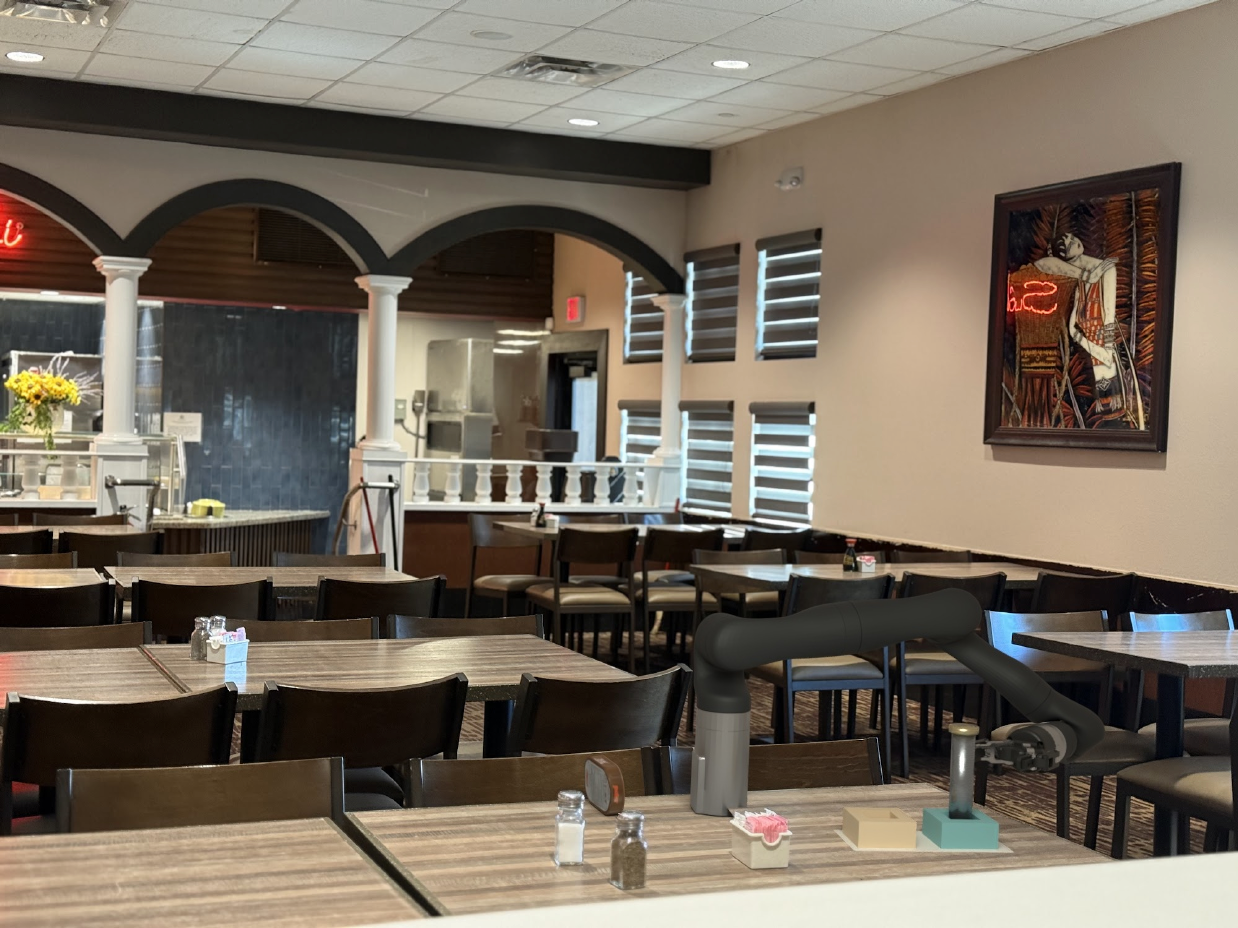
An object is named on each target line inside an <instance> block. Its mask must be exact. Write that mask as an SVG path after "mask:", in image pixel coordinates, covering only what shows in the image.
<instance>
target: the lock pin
mask: <svg viewBox="0 0 1238 928" xmlns="http://www.w3.org/2000/svg"><path fill="white" fill-rule="evenodd" d="M948 732H949V733H950V734H951V749H950V766H949V767H950V768H949V769H950V771H949V795H948V796H949V797H948V809H949V813H948V818H950V819H963V820H972V809H974V807H973V805H974V782H975V780H974V779H975V762H974V761H975V741H976V737H977V736H978V735H979V734H980V726H978V725H976V724H971V723H966V722H965V723H963V722H962V723H961V722H952V723H950V724H948Z"/></svg>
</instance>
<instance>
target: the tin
mask: <svg viewBox="0 0 1238 928" xmlns="http://www.w3.org/2000/svg"><path fill="white" fill-rule="evenodd" d="M583 765H584V767H583V769H584V790H585V795H586V798H587V800H588V802H589V803H590V804H591V805H592V806H593V807H595V808H596V809H597V810H598V811H600V813H602V814H603V815H605V816H611V815H612V816H613V815H618V813H621V814H622V813H623V812H624V809H625V805H626V804H625V802H626V794H625V793H626V791H625V782H624V778H623V773H622V771H621V768H620V767H619V765H618V764H616V762H614V761H612V760H611V759H610V758H608V757H607V756H606V755H604V754H599V755H590V756H588V757H587V758H586V759H585V761H584V764H583Z"/></svg>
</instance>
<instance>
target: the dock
mask: <svg viewBox="0 0 1238 928" xmlns="http://www.w3.org/2000/svg"><path fill="white" fill-rule="evenodd" d="M922 809H923V810H922V830H917V829H918V828H917V825H918V824H917V823H918V822H917V821H916V820H914V819H913V818H912V817H911V816H909V815H908V814H907V813H906V812H904V811H903V810H902V809H901V808H899V807H867V806H864V807H862V806H857V807H856V806H855V807H854V806H847V807H846V806H844V807H843V808H842V827H841V829H833V831H834V832H835V833H836V834H837V836H839V837H840V838H841V840H843V841H844V842H845V843H846V844H847V846H849V847H850V848H851V849H852V850H853V852H915V853H916V852H919V853H921V852H922V853H924V852H926V853H928V852H930V853H933V852H934V853H935V852H936V853H937V852H938V853H939V852H940V853H944V852H945V853H1007V854H1008V853H1015V852H1014V851H1013V850H1011V849H1010V848H1009V847H1008V846H1006V845H1005V844H1003V843H1002V842H1001V841H999V831H1000V830H999V829H1000V823H999V822H998V821H996V820H995V819H993V818H992V817H991V816H989V815H988V814H986V813H984V812H983V811H981V810H980V809H978V808H972V820H963V819H950V818H948V813H949V808H937V807H934V808H929V807H928V808H924V807H923V808H922Z"/></svg>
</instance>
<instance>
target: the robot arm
mask: <svg viewBox="0 0 1238 928" xmlns="http://www.w3.org/2000/svg"><path fill="white" fill-rule="evenodd" d="M982 615H983V610H982V607H981V604H980V601H979V600H978V599H977V598H976V597H975V596H974V595H973V594H972V593H971V592H969V591H967V590H966V589H961V588H957V587H948V588H943V589H941V590H936V591H932V592H930V593H925V594H921V595H916V596H911V597H910V596H909V597H902V598H901V597H900V598H877V599H874V598H873V599H861V600H846V601H837V602H829V603H823V604H818V605H814V606H811V607H809V608H806V609H803V610H800V611H799V612H797V613H793V614H790V615H787V616H781V617H769V618H768V617H767V618H765V617H764V618H749V617H748V618H745V617H740V616H737V615H734V614H729V613H726V612H715V613H712V614H709V615H707V616H706V617H705V618H704V619H702V620H701V622H700V623H699V624H698V627H697V628H696V631H695V635H694V643H693V688H694V692H695V697H696V713H695V714H696V715H695V736H694V737H695V739H694V749H693V750H692V751H691V774H690V775H691V778H690V796H689V797H690V798H689V800H690V801H689V805H690V806H691V807H690V808H692V810H693V812H694V813H695V814H705V815H709V816H710V815H711V816H720V817H721V816H724V817H729V816H730V817H732V816H734V814H733V813H732V812H731V810H730V809H738V808H739V809H740V808H741V809H742V808H748V787H749V786H748V785H749V784H748V783H749V766H750V765H749V762H750V760H749V759H750V738H751V735H750V734H751V713H752V712H751V710H752V696H751V693H750V691H749V689H748V686H747V684H746V678H745V670H749V669H752V668H757V667H761V666H764V665H770V664H772V663H778V662H783V661H786V660H787V661H788V660H802V659H803V660H804V659H805V660H807V659H820V658H821V659H822V658H834V657H842V656H844V657H845V656H851V655H856V654H863V653H866V652H867V653H868V652H871V651H875V650H879V649H883V648H887V647H890V646H893V645H897V644H901V643H904V642H907V641H912V640H918V639H925V640H927V642H929V643H931V644H932V645H934V646H935V647H936V648H938V649H940V650H942V651H943V653H945V654H947V655H948V656H950V657H952V658H953V659H955V660H956V661H958V662H959V663H960V664H962V665H963V666H964V667H966V668H967V669H969V670H970V671H971V672H973V673H974V674H975V675H976V676H979V678H981V679H982V680H983V681H985V683H987V684H989V686H991V687H992V688H993V689H994V690H995V691H997V692H998V693H999V694H1000V695H1001V696H1003V698H1004V699H1005V700H1006V701H1008V702H1009V703H1010V704H1011V705H1012V706H1013V707H1014V708H1015V709H1017V711H1019V713H1021V714H1022V715H1023V716H1024V717H1026V719H1028V720H1029V721H1030V722H1031V723H1033V724H1031V725H1028V726H1024V727H1020V728H1016V729H1015V730H1013V731H1012V732H1010V733H1009V734H1008V736H1006V739H1003V740H999V741H998V740H990V739H989V738H981V739H975V761H974V763H976V762H979V761H987V762H989V763H990V764H1005V765H1010V766H1011V767H1012V768H1013V769H1015V770H1016V772H1020V773H1023V774H1033V773H1034V774H1035V773H1037V772H1039V771H1042V772H1049V771H1051V770H1054V769H1056V768H1058V767H1060V764H1064V765H1068V764H1072V763H1073V762H1075V761H1077V760H1078V759H1080V758H1082V757H1083V756H1084V755H1085V754H1087V753H1088V752H1089V751H1091V750H1092V749H1094V748H1095V747H1096V746H1098V745H1100V744H1101V743H1102V742H1103V740H1104V739H1105V738H1106V728H1105V724H1104V722H1103V721H1102V719H1101V718H1100V717H1099V716H1098V715H1097V714H1096V713H1095V712H1094V711H1093V710H1091V709H1089V708H1087V707H1086V706H1084V705H1082V704H1079V703H1078V702H1076V701H1074V700H1072V699H1070V698H1069V697H1066V696H1065V695H1063V694H1061V693H1060V692H1058V691H1056V690H1055V689H1054V688H1053V687H1052V686H1051V685H1049V684H1048V682H1047V681H1046V680H1044V679H1043V678H1042V677H1041V676H1040V675H1039V674H1037V673H1036V672H1035V671H1034V670H1033V669H1032V668H1030V667H1029V666H1028V665H1026V664H1025V663H1023V662H1022V661H1020V660H1018V659H1017V658H1015V657H1013V656H1011V655H1009V654H1007V653H1005V652H1003V651H1002V650H1000V649H998V648H996V647H995V646H993V645H992V644H990V643H989V642H987V641H985V639H984V638H982V637H980V636H979V635H978V634H977V633H976V632H975V631H976V630H977V628H978V627H979V625H980V623H981V621H982ZM1055 719H1057V720H1059V721H1057V720H1055ZM1051 720H1052V721H1051ZM1053 720H1055V721H1053ZM995 756H996V757H997V758H995Z"/></svg>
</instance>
